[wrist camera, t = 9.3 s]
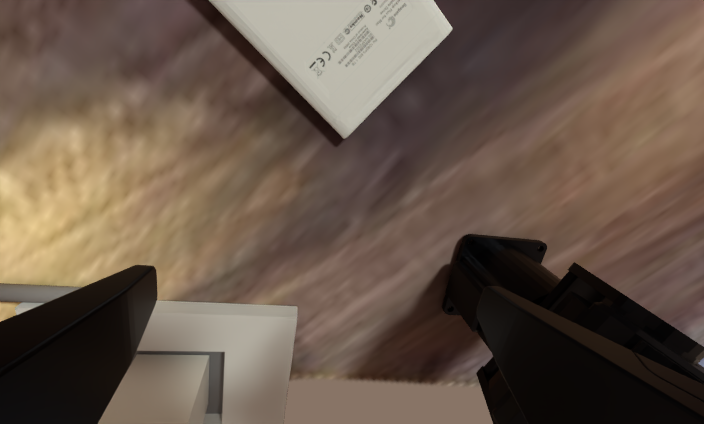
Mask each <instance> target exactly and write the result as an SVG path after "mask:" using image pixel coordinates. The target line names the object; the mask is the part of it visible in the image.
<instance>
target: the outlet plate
mask: <svg viewBox="0 0 704 424" xmlns="http://www.w3.org/2000/svg"><path fill="white" fill-rule="evenodd" d="M42 304H44V303H32V302H22V303H20V304H19V305H18V306H17V307H15V310H16V315H18V314H20V313H23V312H25V311H27V310H30V309H32V308H35V307H37V306H39V305H42ZM296 324H297V306H278V305H253V304H229V303H205V302H180V301H156V305H155V307H154V310H153V312H152V314H151V317H150V319H149V322H148V324H147V327H146V329H145V332H144V334H143V336H142V339H141V341H140V344H139V346H138V349H137V351H136V353H135V356H134V358H135V357H136V355H137V354H148V355H209V395H208V406H207V410H206V413H205V417H204V421H203V424H283V423H284V415H285V407H286V400H287V392H288V384H289V377H290V370H291V362H292V354H293V347H294V339H295V331H296ZM134 358H133V360H134ZM133 360H132V362H133ZM132 362H131V364H132ZM131 364H130V365H131ZM129 367H130V366H129ZM128 369H129V368H128ZM124 376H125V375H124Z"/></svg>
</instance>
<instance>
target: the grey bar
mask: <svg viewBox="0 0 704 424" xmlns="http://www.w3.org/2000/svg"><path fill="white" fill-rule="evenodd" d="M80 288H82V287H68V286H47V285H25V284H4V283H0V301H5V302H32V303H47V302H49V301H51V300H54V299H56V298H58V297H61V296H63V295H66V294H68V293H70V292H73V291H75V290H77V289H80Z"/></svg>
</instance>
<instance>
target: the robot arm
mask: <svg viewBox="0 0 704 424" xmlns="http://www.w3.org/2000/svg"><path fill="white" fill-rule="evenodd" d="M470 240H472V242H471V243H470V244H468V243H469V241H470ZM538 247H540V248H539V249H538ZM546 250H547V245H546V244H545V243H543V242H542V241H539V240H529V239H519V238H508V237H497V236H487V235H476V234H468V235H466V236H465V237H464V238H463V240H462V243H461V247H460V250H459V253H458V256H457V260H456V262H455V263H454V265H453V269H452V272H451V275H450V278H449V282H448V285H447V288H446V295H445V299H444V302H443V305H442V308H443V310H444V312H445V313H446V314H448V315H461V316H462V317H463V319H464V320H465V322H466V323H467V324H468V326H469V327H470V329H471V330H472V331H473V332H477V333H478V334H479V335H480V337H481V338H482V339H483V341H484V342H485V344H486V345H487V346H488V348H489V349H490V351H491V352H492V354H493V357H492V358H491V360H490V361H489V362H488V363H487V364H486V365H485V366H484V367H483V366H482V367H481V368H480V369H479V370H478V372H477V376H478V379H479V382H480V385H481V388H482V391H483V394H484V397H485V400H486V403H487V406H488V409H489V412H490V415H491V418H492V421H493V424H704V367H702V366H701V365H699V364H698V363H699V362H700V360H701V359H703V358H704V347H703V346H701V345H700V344H698V343H697V342H695V341H694V340H692V339H691V338H689V337H688V336H686V335H685V334H683V333H682V332H680V331H679V330H677V329H676V328H674V327H672V326H671V325H669V324H668V323H666V322H665V321H663V320H662V319H660V318H659V317H657V316H656V315H654V314H653V313H651V312H650V311H648V310H647V309H645V308H643V307H642V306H640V305H639V304H637V303H636V302H634V301H633V300H631V299H630V298H628V297H627V296H625V295H624V294H622V293H621V292H619V291H617V290H616V289H614V288H613V287H611V286H610V285H608V284H607V283H605V282H604V281H602V280H601V279H599V278H598V277H596V276H595V275H593V274H591V273H590V272H588V271H587V270H585V269H584V268H582V267H581V266H579V265H578V264H576V263H575V262H574V263H573V264H572V265H571V266H570V268H569V269H568V270H569V272H568V273H567V274H566V275H565V276H564V277H563V278H562V280H561V279H559V278H558V277H557V276H555V275H554V274H553V273H551V272H550V271H549V270H547V269H546V268H545V267H544V266H542V265H541V262H542V260H543V257H544V255H545V252H546ZM156 301H157V275H156V269H155V267H154V266H147V265H135V266H132V267H130V268H127V269H125V270H123V271H120V272H118V273H116V274H113V275H111V276H108V277H106V278H104V279H101V280H99V281H97V282H94V283H92V284H89V285H87V286H85V287H82V288H80V289H77V290H75V291H73V292H70V293H68V294H66V295H63V296H61V297H58V298H56V299H54V300H51V301H49V302H47V303H44V304H42V305H39V306H37V307H35V308H32V309H30V310H27V311H25V312H23V313H20V314H18V315H16V316H13V317H11V318H8V319H6V320H4V321H1V322H0V424H98V422H99V421H100V419H101V417H102V415H103V413H104V412H105V410H106V408H107V406H108V404H109V403H110V401H111V399H112V397H113V395H114V394H115V392H116V390H117V388H118V386H119V384H120V383H121V381H122V379H123V377H124V375H125V374H126V372H127V370H128V368H129V366H130V364H131V362H132V360H133V358H134V356H135V353H136V351H137V349H138V346H139V344H140V341H141V339H142V336H143V334H144V332H145V329H146V327H147V324H148V322H149V319H150V317H151V314H152V312H153V310H154V307H155V305H156ZM449 307H451V308H449ZM448 308H449V309H448Z"/></svg>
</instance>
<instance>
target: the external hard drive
mask: <svg viewBox="0 0 704 424" xmlns="http://www.w3.org/2000/svg"><path fill="white" fill-rule="evenodd" d="M209 1H210V2H211V3H212V4H213V6H214V7H215V8H216V9H217V10H218V11H219V12H220V13H221V14H222V15H223V16H224V17H225V18H226V19H227V20H228V21H229V22H230V23H231V24H232V25H233V26H234V27H235V28H236V29H237V30H238V31H239V32H240V33H241V34H242V35H243V36H244V37H245V38H246V39H247V40H248V41H249V42H250V43H251V44H252V45H253V46H254V48H255V49H256V50H257V51H258V52H259V53H260V54H261V55H262V56H263V57H264V58H265V59H266V60H267V61H268V62H269V63H270V64H271V65H272V66H273V67H274V68H275V69H276V70H277V71H278V72H279V73H280V74H281V75H282V76H283V77H284V78H285V79H286V80H287V81H288V82H289V83H290V84H291V85H292V86H293V87H294V89H295V90H296V91H297V92H298V93H299V94H300V95H301V96H302V97H303V98H304V99H305V100H306V101H307V102H308V103H309V104H310V105H311V106H312V107H313V108H314V109H315V110H316V111H317V112H318V113H319V114H320V115H321V116H322V117H323V118H324V119H325V120H326V121H327V122H328V123H329V124H330V125H331V126H332V127H333V128H334V129H335V130H336V131H337V132H338V133H339V134H340V136H341V137H342V138H343V139H345V138H346V137H348V136H349V135H350V134H351V133H352V132H353V131H354V130H355V129H356V128H357V127H358V126H359V125H360V124H361V123H362V122H363V121H364V120H365V119H366V118H367V117H368V116H369V115H370V113H371V112H372V111H373V110H374V109H375V108H376V107H377V106H378V105H379V104H380V103H381V102H382V101H383V100H384V99H385V98H386V97H387V96H388V95H389V94H390V93H391V92H392V91H393V90H394V89H395V88H396V87H397V86H398V85H399V84H400V83H401V82H402V81H403V80H404V79H405V78H406V77H407V76H408V75H409V74H410V73H411V72H412V71H413V70H414V69H415V68H416V67H417V66H418V65H419V64H420V63H421V62H422V61H423V60H424V59H425V58H426V57H427V56H428V55H429V54H430V53H431V52H432V51H433V50H434V49H435V48H436V47H437V46H438V45H439V44H440V43H441V42H442V41H443V40H444V39H445V38H446V37H447V35H448V34H449V33H450V32H451V31H452V27H451V25H450V24H449V22H448V21H447V19H446V18H445V16H444V15H443V14H442V12H441V11H440V9H439V8H438V6H437V5H436V3H435V2H434V0H209Z"/></svg>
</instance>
